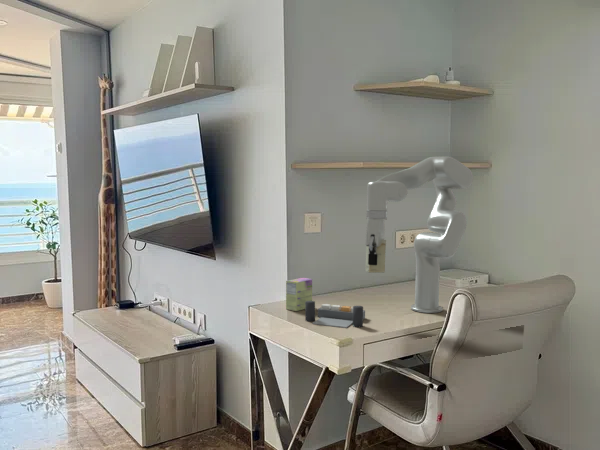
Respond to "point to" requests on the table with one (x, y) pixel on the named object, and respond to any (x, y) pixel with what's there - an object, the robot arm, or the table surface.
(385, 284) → the table surface
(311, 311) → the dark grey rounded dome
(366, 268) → the skincare box
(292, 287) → the box
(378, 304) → the table surface
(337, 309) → the grey button panel
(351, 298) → the table surface
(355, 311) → the dark grey capsule
